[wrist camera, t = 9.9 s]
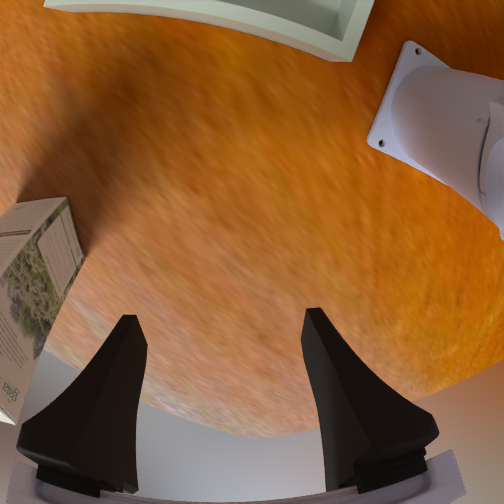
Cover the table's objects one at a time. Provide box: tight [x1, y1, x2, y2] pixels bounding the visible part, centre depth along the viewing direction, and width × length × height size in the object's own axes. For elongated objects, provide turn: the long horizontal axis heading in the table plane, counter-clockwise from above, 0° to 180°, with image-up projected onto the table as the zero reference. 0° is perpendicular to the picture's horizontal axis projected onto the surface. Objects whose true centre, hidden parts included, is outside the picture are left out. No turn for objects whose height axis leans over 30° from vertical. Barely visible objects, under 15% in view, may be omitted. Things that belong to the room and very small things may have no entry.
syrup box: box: [0, 197, 85, 425], centre depth 13 cm, size 6×6×14 cm
